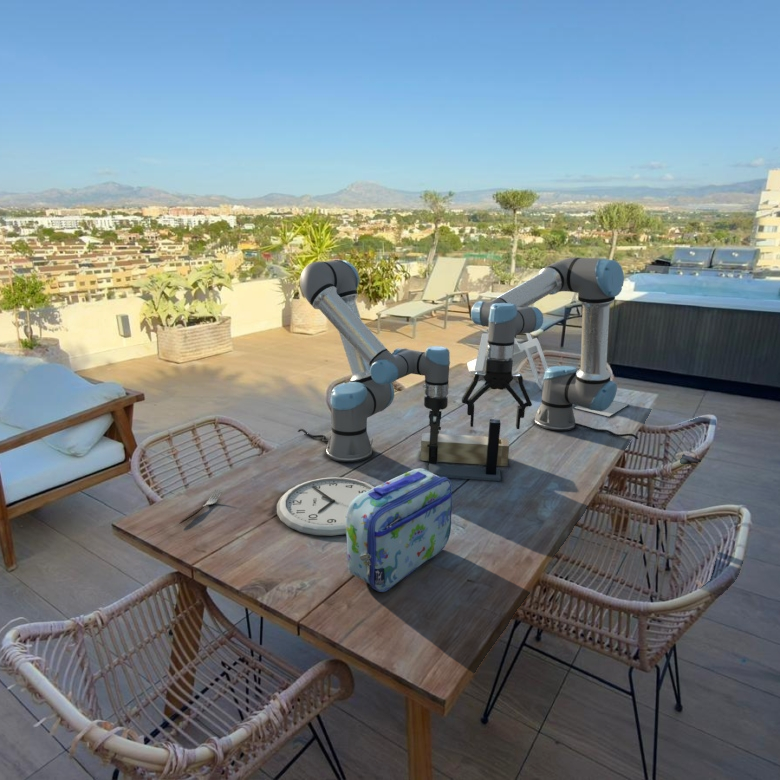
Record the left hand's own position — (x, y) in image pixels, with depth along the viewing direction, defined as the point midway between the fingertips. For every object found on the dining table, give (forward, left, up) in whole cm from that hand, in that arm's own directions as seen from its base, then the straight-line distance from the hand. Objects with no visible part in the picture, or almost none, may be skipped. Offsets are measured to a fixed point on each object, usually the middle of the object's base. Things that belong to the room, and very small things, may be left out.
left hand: (433, 456), depth 174 cm
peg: (+21, -3, +1) cm, 21 cm away
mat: (+13, -6, 0) cm, 15 cm away
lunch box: (+20, -57, 0) cm, 60 cm away
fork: (-37, -65, 0) cm, 74 cm away
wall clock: (-9, -44, 0) cm, 45 cm away
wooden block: (+9, +4, 0) cm, 10 cm away
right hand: (+21, -3, +16) cm, 26 cm away
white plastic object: (-8, +97, 0) cm, 97 cm away
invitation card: (+38, +86, 0) cm, 94 cm away
